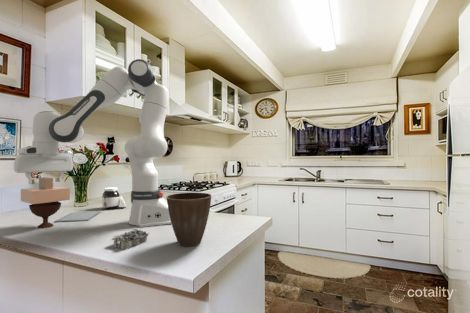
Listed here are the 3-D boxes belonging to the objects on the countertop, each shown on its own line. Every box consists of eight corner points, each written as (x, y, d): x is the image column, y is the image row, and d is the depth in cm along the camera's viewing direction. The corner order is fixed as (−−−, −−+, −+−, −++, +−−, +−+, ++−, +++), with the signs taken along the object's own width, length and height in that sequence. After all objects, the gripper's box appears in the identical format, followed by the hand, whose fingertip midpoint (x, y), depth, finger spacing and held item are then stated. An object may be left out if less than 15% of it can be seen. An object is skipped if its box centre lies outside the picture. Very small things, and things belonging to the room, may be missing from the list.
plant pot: (204, 252, 77) (204, 199, 77) (158, 249, 79) (158, 198, 79) (216, 237, 92) (216, 193, 92) (177, 235, 94) (176, 192, 94)
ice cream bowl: (44, 230, 100) (44, 193, 100) (21, 229, 102) (21, 192, 103) (67, 224, 111) (67, 189, 111) (46, 222, 113) (46, 189, 113)
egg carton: (124, 251, 79) (124, 238, 79) (109, 247, 83) (109, 234, 83) (151, 241, 88) (151, 229, 88) (136, 237, 92) (136, 226, 92)
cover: (56, 197, 116) (56, 176, 116) (69, 199, 108) (70, 177, 108) (20, 201, 105) (20, 178, 105) (32, 204, 98) (33, 179, 98)
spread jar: (100, 208, 145) (100, 187, 145) (119, 205, 154) (119, 186, 154) (109, 211, 137) (109, 189, 137) (129, 207, 146) (129, 187, 146)
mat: (101, 212, 134) (101, 211, 134) (88, 220, 116) (88, 219, 116) (71, 213, 131) (71, 212, 131) (54, 222, 113) (54, 221, 113)
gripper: (69, 150, 117) (69, 180, 117) (12, 149, 100) (12, 184, 100) (75, 150, 114) (75, 181, 113) (18, 149, 97) (17, 185, 97)
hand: (45, 182), depth 107 cm, fingers open, 8 cm apart
